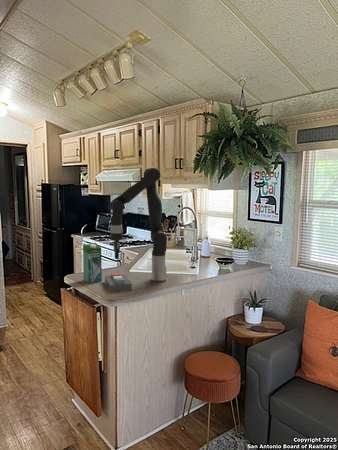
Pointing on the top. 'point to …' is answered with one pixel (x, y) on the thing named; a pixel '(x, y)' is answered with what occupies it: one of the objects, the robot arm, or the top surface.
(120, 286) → the key panel
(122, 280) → the blue key
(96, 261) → the milk carton
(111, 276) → the red key
